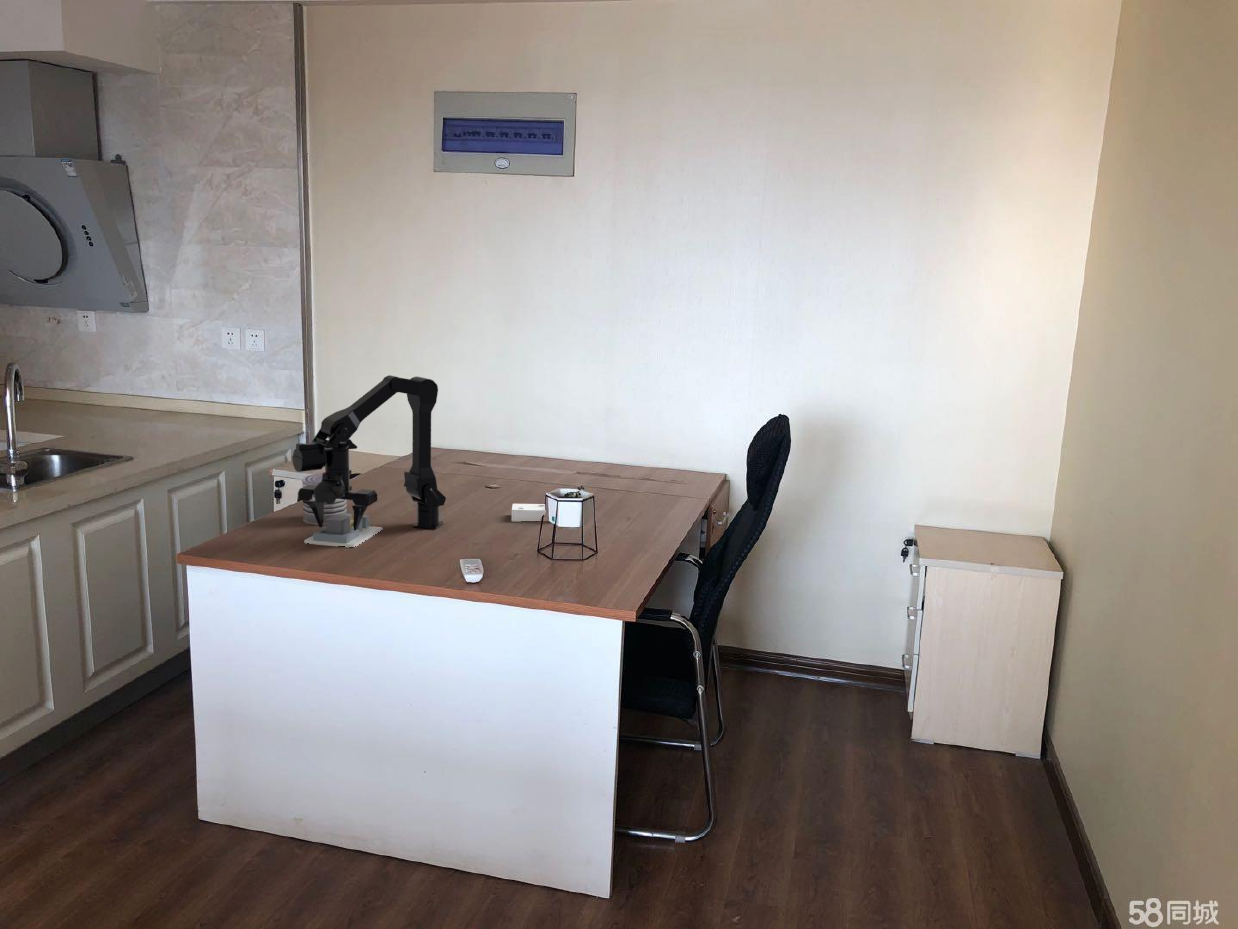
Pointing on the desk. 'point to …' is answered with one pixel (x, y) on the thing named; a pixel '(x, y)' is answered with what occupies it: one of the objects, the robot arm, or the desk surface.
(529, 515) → the bracket
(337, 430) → the robot arm
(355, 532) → the board
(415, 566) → the desk surface
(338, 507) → the can
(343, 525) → the plug
